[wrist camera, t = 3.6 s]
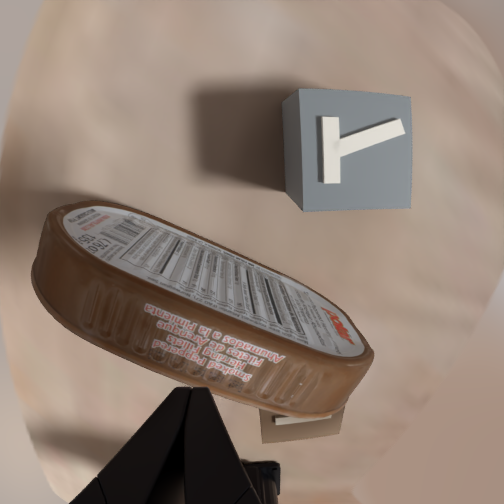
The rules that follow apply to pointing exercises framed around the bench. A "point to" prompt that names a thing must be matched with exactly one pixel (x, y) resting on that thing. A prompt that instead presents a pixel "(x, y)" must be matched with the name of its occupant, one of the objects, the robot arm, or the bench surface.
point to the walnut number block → (297, 426)
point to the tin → (196, 311)
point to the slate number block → (347, 150)
